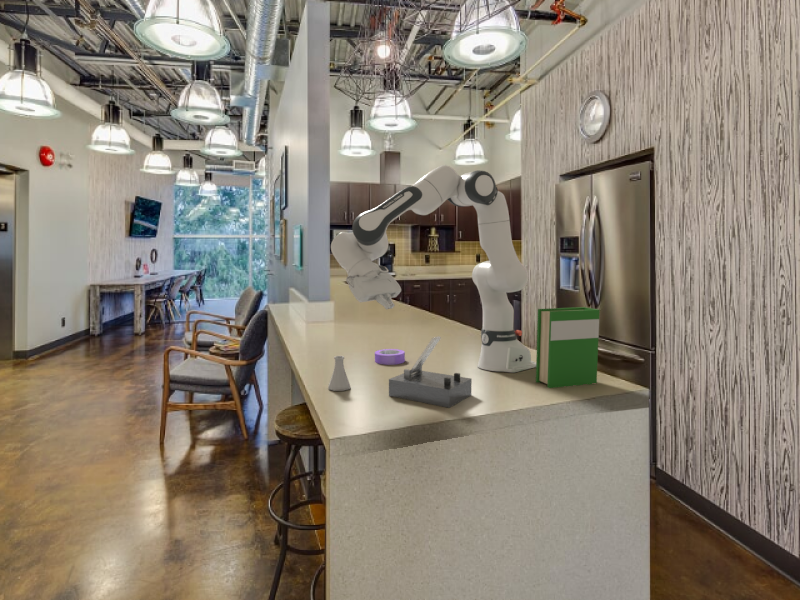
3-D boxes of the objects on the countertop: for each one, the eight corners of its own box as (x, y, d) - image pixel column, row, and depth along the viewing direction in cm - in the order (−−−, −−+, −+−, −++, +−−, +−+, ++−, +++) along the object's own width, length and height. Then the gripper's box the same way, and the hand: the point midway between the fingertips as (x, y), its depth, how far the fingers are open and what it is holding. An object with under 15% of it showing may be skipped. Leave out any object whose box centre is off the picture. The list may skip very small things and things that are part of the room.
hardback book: (549, 388, 149) (551, 311, 146) (535, 381, 156) (537, 308, 153) (596, 383, 154) (599, 309, 152) (581, 377, 161) (584, 307, 159)
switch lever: (409, 377, 142) (406, 374, 143) (416, 374, 145) (413, 371, 146) (435, 340, 136) (431, 337, 137) (441, 338, 140) (438, 335, 140)
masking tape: (378, 366, 179) (378, 355, 178) (371, 359, 190) (371, 349, 189) (408, 363, 182) (408, 354, 182) (399, 357, 193) (399, 348, 193)
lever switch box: (388, 395, 141) (388, 370, 140) (413, 384, 152) (414, 361, 152) (449, 407, 130) (449, 380, 129) (471, 395, 141) (471, 370, 141)
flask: (332, 393, 144) (331, 360, 143) (324, 387, 150) (324, 355, 149) (354, 389, 147) (354, 357, 146) (346, 384, 153) (345, 353, 152)
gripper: (349, 269, 141) (376, 304, 136) (389, 267, 158) (414, 297, 153) (338, 283, 144) (364, 318, 139) (378, 280, 161) (402, 310, 156)
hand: (390, 307), depth 146 cm, fingers closed
